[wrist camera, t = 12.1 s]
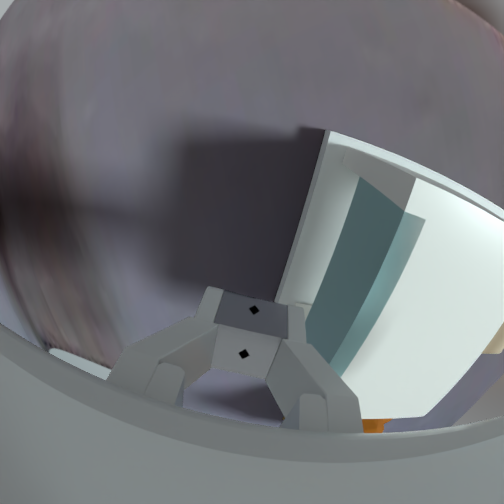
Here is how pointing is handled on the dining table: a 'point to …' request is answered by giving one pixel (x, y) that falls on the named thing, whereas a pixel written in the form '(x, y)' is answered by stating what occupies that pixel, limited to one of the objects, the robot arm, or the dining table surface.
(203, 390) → the dining table surface
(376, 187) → the cover
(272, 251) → the dining table surface
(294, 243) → the white peg base plate
